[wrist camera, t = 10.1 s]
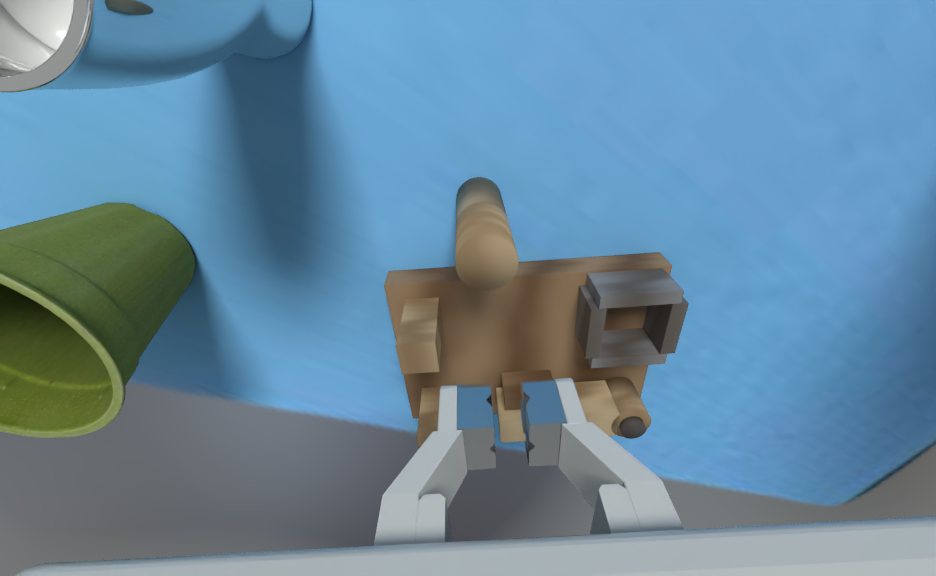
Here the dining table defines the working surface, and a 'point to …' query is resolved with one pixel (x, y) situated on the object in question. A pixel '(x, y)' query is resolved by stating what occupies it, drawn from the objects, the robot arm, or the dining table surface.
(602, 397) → the hinged leg
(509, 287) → the wooden assembly base board
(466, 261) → the oak leg peg
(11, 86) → the beer glass
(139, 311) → the plant pot
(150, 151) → the dining table surface
